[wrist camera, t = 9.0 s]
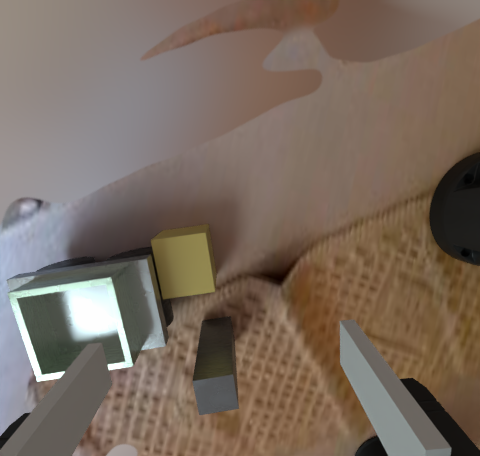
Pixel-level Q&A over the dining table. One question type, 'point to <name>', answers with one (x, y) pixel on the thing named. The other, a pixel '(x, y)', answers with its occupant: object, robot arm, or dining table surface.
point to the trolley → (90, 310)
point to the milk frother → (372, 448)
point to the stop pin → (216, 367)
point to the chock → (185, 261)
